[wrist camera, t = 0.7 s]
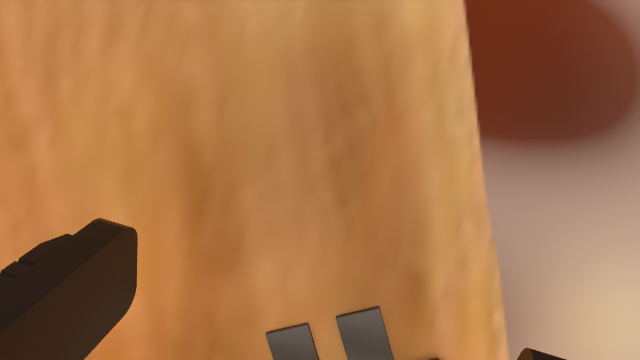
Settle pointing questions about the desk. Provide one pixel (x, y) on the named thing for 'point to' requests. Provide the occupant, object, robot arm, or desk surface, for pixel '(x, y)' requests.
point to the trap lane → (356, 332)
